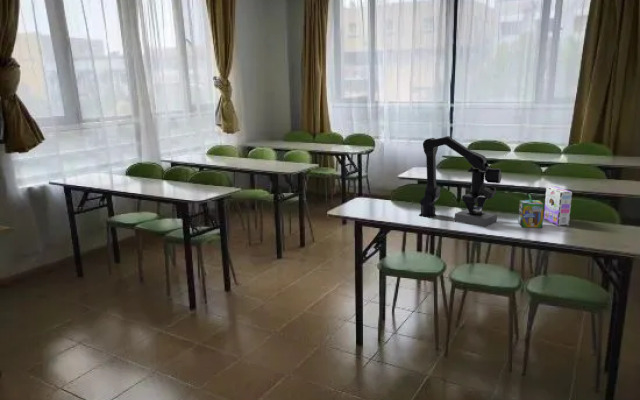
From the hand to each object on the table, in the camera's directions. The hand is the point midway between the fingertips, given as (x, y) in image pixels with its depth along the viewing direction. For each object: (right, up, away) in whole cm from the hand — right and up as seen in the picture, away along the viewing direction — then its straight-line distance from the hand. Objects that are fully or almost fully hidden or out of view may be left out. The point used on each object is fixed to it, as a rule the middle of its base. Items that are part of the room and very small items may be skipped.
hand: (475, 212), depth 240 cm
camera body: (0, -4, +1) cm, 4 cm away
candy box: (+38, -5, -1) cm, 39 cm away
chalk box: (+23, -6, -6) cm, 25 cm away
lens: (0, -3, +1) cm, 3 cm away
